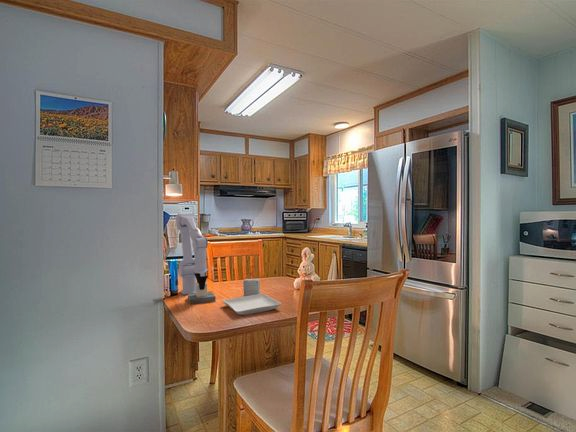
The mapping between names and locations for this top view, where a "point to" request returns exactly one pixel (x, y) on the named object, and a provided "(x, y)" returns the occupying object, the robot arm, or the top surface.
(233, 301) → the salad plate
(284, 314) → the top surface
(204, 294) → the cream block
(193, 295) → the slate panel
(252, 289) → the medicine box
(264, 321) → the top surface
